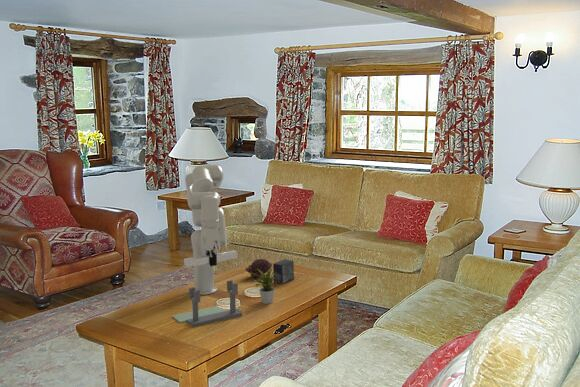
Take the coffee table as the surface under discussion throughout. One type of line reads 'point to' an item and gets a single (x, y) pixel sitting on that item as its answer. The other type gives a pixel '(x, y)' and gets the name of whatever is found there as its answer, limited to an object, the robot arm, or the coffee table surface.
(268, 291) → the house plant
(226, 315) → the grey base with uprights
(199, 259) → the steel rail
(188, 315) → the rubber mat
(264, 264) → the pine cone
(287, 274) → the small box
